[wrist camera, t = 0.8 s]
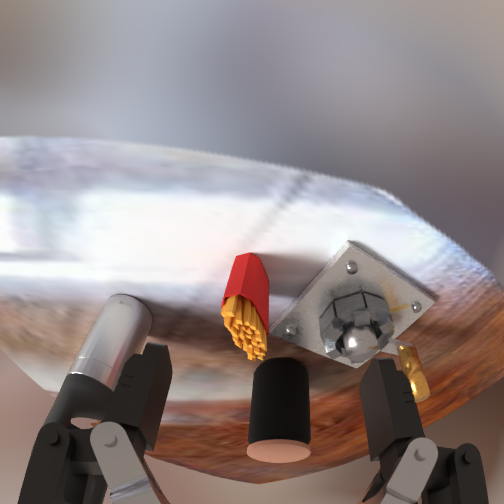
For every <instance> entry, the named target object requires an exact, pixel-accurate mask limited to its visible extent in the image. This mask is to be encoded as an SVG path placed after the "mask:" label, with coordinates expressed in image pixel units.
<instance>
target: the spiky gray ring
mask: <svg viewBox="0 0 504 504" xmlns="http://www.w3.org/2000/svg"><path fill="white" fill-rule="evenodd" d="M334 302H335V303H332V304H331V305H330V307H329V308H328V310H327V311H326V312H325V314H324V315H323V317H322V318H321V319H320V321H319V328H320V337H321V339H322V341H323V343H324V346H325V352H326V354H327V355H328V356H329V357H330V358H331V359H332V360H333V359H335V358H338V357H340V356H341V357H346V353H345V347H344V341H343V335H342V333H343V332H344V331H343V324H344V323H347V322H350V321H354V326H361V325H368V324H370V319H372V320H375V321H377V322H376V324H375V325H374V326H373V327H374V331H375V335H376V338H377V342H378V346H379V349H378V350H381V351H382V352H386V353H390V354H395V355H398V356H399V359H400V363H401V366H402V370H403V372H404V374H405V375H406V376H407V378H408V379H409V380H410V384H411V387H412V391H413V392H412V393H413V394H414V398H415V402H416V403H417V402H421V401H423V400H425V399H427V398H428V397H429V396H430V391H429V388H428V384H427V381H426V378H425V375H424V371H423V368H422V365H421V362H420V359H419V356H418V353H417V350H416V348H415V347H414V345H413V344H412V343H408V342H404V341H400V340H396V339H393V338H391V337H392V336H393V335H394V332H395V331H394V330H395V327H394V324H393V320H392V315H391V312H390V309H389V306H388V303H387V302H386V300H384V299H381V298H378V297H375V296H372V295H369V294H366V293H363V294H361V293H359V294H356V295H353V296H350V297H347V298H343V299H340V300H337V301H334ZM346 358H347V357H346ZM364 361H365V360H364ZM364 361H352V360H351V364H354V363H362V362H364Z"/></svg>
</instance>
